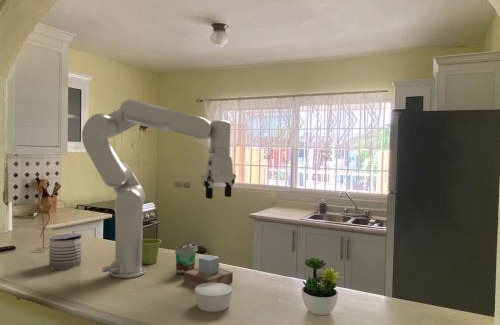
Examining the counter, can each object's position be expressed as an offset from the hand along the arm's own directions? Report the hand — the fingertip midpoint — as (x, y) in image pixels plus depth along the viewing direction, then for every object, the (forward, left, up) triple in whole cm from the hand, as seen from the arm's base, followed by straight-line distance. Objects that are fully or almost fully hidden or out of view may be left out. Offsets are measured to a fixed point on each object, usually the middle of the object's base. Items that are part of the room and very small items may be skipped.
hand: (218, 197), depth 144 cm
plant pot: (-12, +27, -28) cm, 41 cm away
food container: (-8, +7, -28) cm, 30 cm away
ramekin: (-24, -23, -29) cm, 44 cm away
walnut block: (-11, -7, -29) cm, 32 cm away
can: (-37, +46, -28) cm, 66 cm away
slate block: (-11, -7, -25) cm, 28 cm away
